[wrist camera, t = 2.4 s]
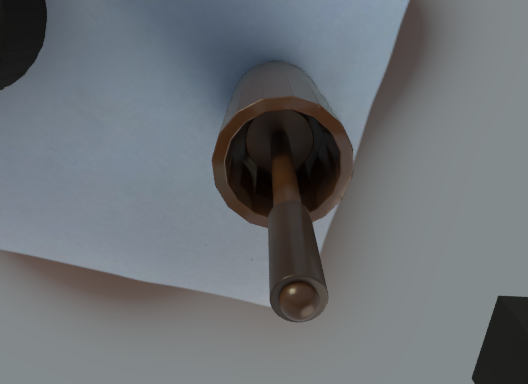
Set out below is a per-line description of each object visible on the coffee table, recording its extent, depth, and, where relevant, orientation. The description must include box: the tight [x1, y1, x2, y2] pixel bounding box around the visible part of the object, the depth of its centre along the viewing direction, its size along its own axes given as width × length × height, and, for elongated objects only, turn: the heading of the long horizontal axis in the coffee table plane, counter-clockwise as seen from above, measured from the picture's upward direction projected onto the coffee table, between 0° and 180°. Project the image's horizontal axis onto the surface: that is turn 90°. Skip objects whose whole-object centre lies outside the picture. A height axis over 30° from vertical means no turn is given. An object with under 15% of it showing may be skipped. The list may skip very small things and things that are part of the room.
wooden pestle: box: [245, 110, 328, 322], centre depth 24 cm, size 5×5×22 cm
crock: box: [212, 61, 353, 228], centre depth 35 cm, size 9×9×17 cm
